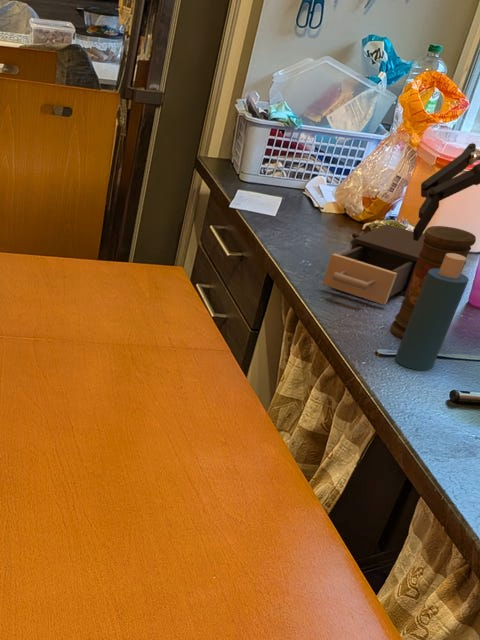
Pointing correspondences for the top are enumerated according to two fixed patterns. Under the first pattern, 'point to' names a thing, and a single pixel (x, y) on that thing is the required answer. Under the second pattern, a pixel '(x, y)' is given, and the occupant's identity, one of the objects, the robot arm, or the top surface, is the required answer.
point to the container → (431, 266)
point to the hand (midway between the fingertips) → (456, 247)
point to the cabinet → (392, 244)
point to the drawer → (369, 273)
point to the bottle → (433, 314)
